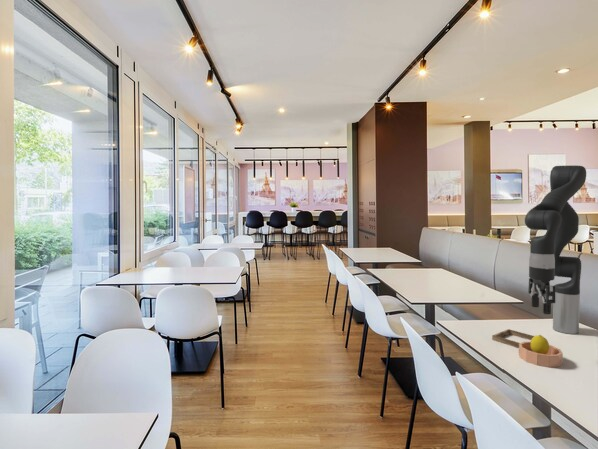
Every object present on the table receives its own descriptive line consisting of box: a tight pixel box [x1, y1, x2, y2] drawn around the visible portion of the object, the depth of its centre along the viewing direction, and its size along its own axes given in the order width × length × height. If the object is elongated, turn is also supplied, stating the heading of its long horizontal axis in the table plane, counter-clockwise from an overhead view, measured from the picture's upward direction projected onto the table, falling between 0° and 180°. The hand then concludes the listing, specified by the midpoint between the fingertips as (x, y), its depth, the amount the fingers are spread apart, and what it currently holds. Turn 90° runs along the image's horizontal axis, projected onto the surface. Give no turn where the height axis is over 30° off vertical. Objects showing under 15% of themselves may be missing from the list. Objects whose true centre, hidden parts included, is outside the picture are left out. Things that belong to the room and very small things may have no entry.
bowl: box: [518, 341, 564, 368], centre depth 124 cm, size 13×13×4 cm
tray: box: [491, 328, 535, 349], centre depth 141 cm, size 14×14×2 cm
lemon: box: [530, 334, 550, 354], centre depth 124 cm, size 6×6×8 cm
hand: (540, 310), depth 123 cm, fingers open, 8 cm apart
